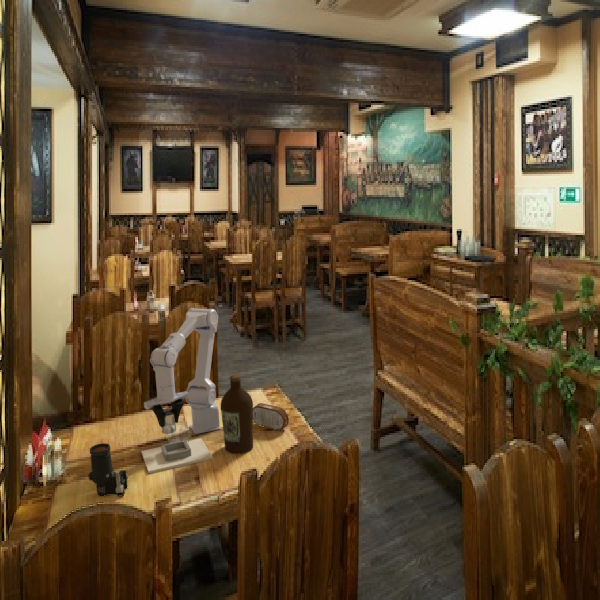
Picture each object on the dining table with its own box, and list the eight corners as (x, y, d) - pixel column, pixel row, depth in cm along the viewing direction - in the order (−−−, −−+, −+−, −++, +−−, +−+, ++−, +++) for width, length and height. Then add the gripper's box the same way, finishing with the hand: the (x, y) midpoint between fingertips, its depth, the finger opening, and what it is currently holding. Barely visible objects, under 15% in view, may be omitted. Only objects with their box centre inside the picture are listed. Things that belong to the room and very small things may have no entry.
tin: (289, 430, 187) (288, 408, 185) (284, 433, 184) (283, 411, 183) (256, 422, 195) (255, 400, 193) (250, 425, 192) (249, 403, 191)
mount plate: (201, 440, 181) (200, 432, 180) (212, 458, 167) (211, 450, 167) (141, 453, 173) (140, 444, 172) (148, 473, 159) (147, 464, 159)
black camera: (117, 453, 143) (80, 455, 143) (122, 499, 146) (85, 501, 145) (125, 439, 151) (90, 442, 151) (129, 483, 154) (95, 486, 153)
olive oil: (235, 438, 182) (231, 369, 177) (261, 444, 176) (257, 373, 172) (216, 451, 172) (212, 379, 168) (243, 457, 167) (238, 383, 163)
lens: (172, 427, 175) (170, 407, 173) (178, 431, 171) (176, 410, 170) (159, 431, 172) (157, 410, 171) (165, 435, 168) (163, 414, 167)
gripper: (180, 376, 176) (183, 414, 178) (139, 386, 167) (142, 426, 170) (190, 381, 170) (193, 420, 173) (147, 392, 162) (151, 433, 164)
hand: (168, 424), depth 171 cm, fingers closed on lens, 4 cm apart
